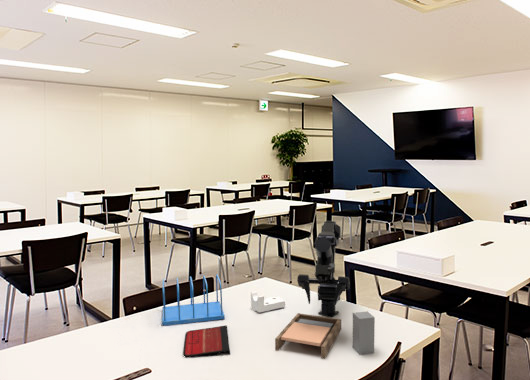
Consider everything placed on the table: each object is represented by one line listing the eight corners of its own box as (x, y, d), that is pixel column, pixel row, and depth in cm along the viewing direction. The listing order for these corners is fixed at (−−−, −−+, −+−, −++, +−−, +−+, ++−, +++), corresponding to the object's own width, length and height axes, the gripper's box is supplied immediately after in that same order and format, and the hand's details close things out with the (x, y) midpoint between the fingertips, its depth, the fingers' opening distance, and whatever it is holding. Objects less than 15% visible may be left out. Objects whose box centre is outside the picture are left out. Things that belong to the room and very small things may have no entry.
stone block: (352, 347, 151) (352, 312, 150) (367, 345, 152) (367, 311, 151) (359, 354, 146) (359, 318, 145) (374, 352, 147) (374, 317, 146)
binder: (227, 324, 168) (230, 349, 147) (227, 330, 168) (230, 356, 147) (185, 329, 166) (182, 355, 145) (185, 335, 166) (183, 361, 145)
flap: (299, 325, 169) (299, 315, 168) (334, 331, 163) (334, 320, 163) (281, 348, 150) (281, 336, 150) (320, 354, 145) (320, 343, 145)
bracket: (258, 314, 183) (258, 297, 182) (251, 309, 189) (250, 292, 188) (285, 308, 189) (284, 292, 188) (276, 303, 195) (276, 287, 194)
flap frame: (297, 322, 173) (297, 313, 173) (341, 329, 166) (341, 319, 166) (275, 349, 150) (275, 338, 150) (324, 358, 143) (324, 347, 143)
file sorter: (219, 305, 194) (218, 272, 193) (224, 320, 177) (224, 283, 176) (162, 310, 188) (161, 276, 187) (162, 326, 172) (160, 289, 170)
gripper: (297, 253, 159) (293, 294, 150) (349, 255, 155) (348, 297, 146) (300, 266, 168) (297, 305, 159) (349, 269, 164) (348, 309, 155)
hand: (322, 304), depth 154 cm, fingers open, 9 cm apart
